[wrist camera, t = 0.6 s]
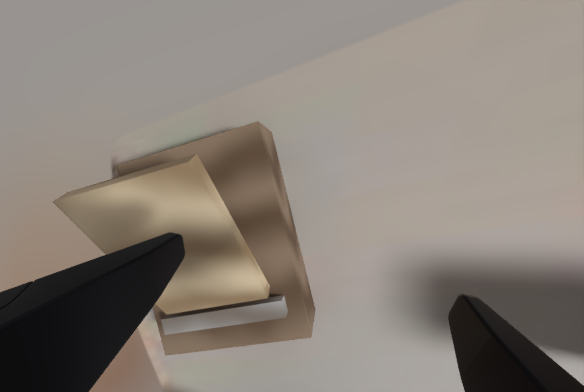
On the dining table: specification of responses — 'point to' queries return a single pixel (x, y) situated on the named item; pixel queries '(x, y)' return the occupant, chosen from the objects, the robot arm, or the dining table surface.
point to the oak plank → (173, 218)
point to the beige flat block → (259, 238)
